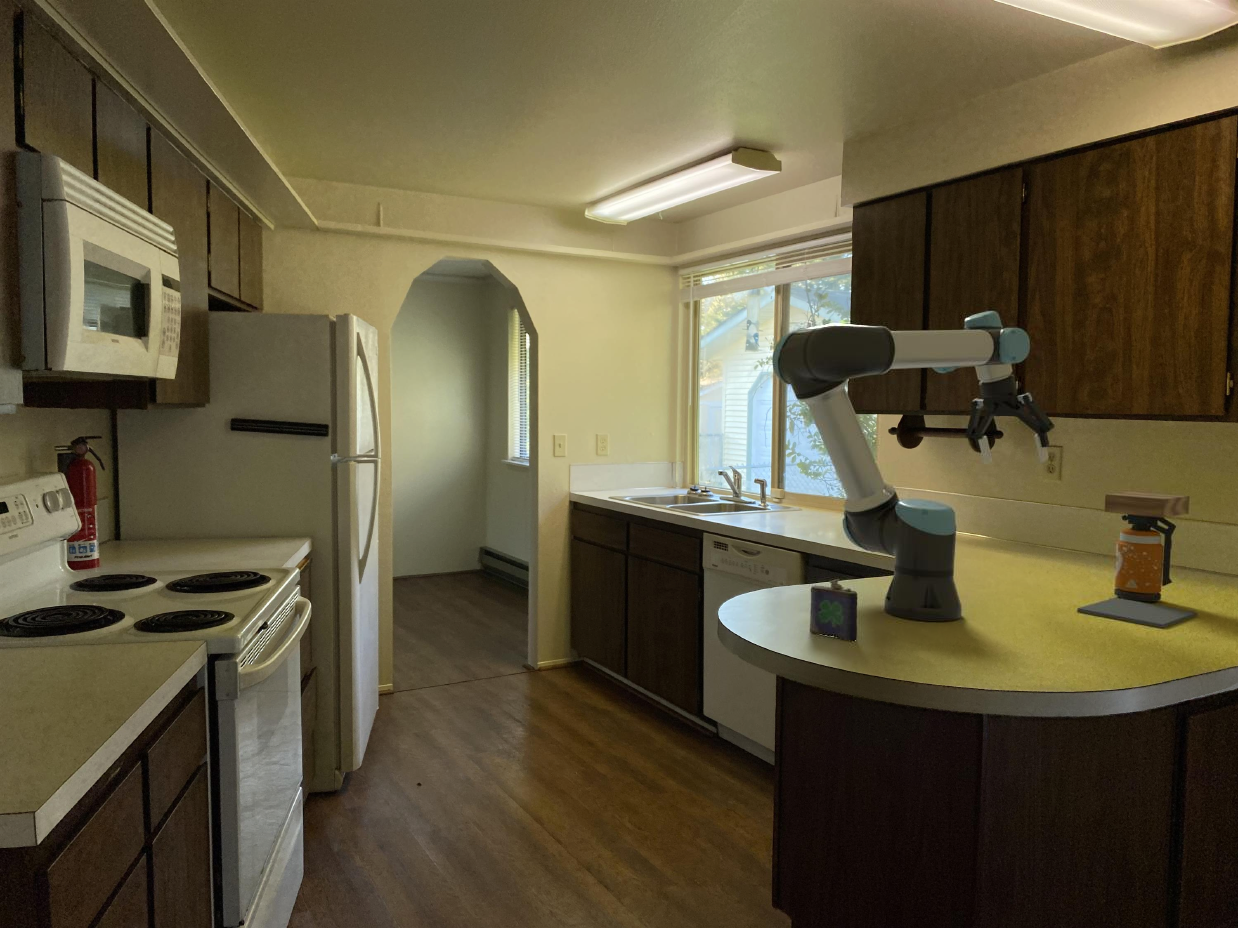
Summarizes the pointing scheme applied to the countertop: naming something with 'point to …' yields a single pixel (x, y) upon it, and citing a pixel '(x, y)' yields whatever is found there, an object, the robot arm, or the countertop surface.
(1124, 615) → the mat
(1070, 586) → the countertop surface
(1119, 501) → the wooden block
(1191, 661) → the countertop surface
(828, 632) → the flask
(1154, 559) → the canister
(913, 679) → the countertop surface
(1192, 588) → the countertop surface
